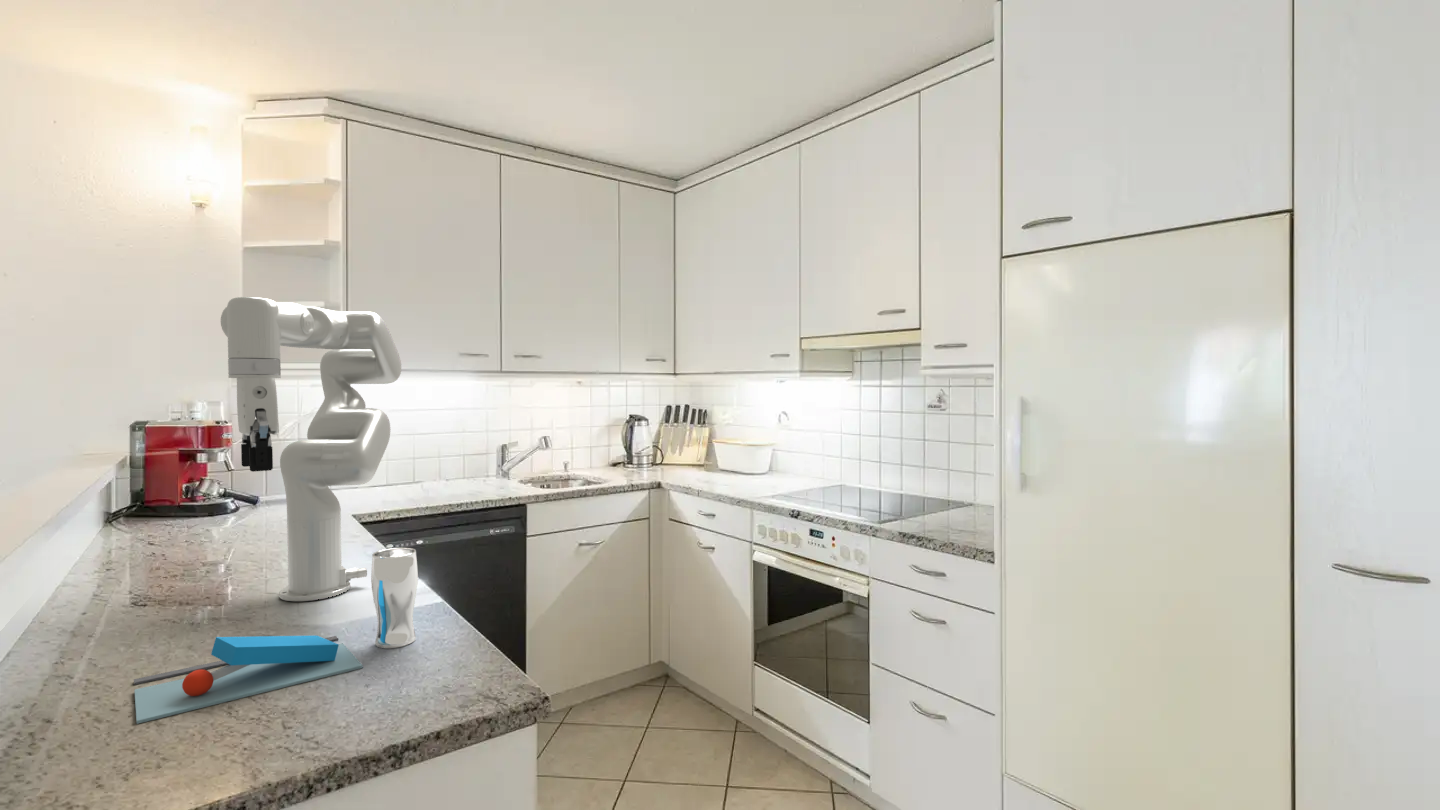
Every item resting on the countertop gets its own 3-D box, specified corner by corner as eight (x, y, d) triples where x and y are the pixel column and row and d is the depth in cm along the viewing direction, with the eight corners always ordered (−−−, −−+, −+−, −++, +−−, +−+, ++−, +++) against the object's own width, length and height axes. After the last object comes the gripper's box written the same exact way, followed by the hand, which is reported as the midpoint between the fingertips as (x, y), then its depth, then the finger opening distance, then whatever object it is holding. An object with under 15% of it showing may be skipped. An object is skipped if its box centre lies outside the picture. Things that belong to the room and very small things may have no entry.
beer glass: (427, 638, 116) (426, 549, 116) (392, 652, 110) (391, 559, 109) (398, 632, 119) (397, 545, 118) (362, 645, 113) (361, 554, 112)
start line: (335, 637, 116) (335, 635, 116) (338, 640, 115) (338, 638, 115) (133, 681, 99) (133, 679, 99) (134, 684, 98) (134, 682, 98)
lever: (304, 681, 108) (169, 690, 94) (317, 635, 110) (185, 637, 95) (326, 692, 105) (189, 703, 90) (339, 644, 106) (205, 648, 91)
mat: (342, 645, 113) (342, 643, 113) (362, 667, 104) (362, 665, 104) (134, 692, 95) (134, 689, 95) (136, 723, 86) (136, 720, 86)
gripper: (289, 369, 115) (291, 471, 115) (271, 371, 128) (273, 462, 128) (235, 368, 110) (237, 474, 110) (222, 370, 123) (224, 465, 123)
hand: (256, 468), depth 119 cm, fingers open, 9 cm apart
